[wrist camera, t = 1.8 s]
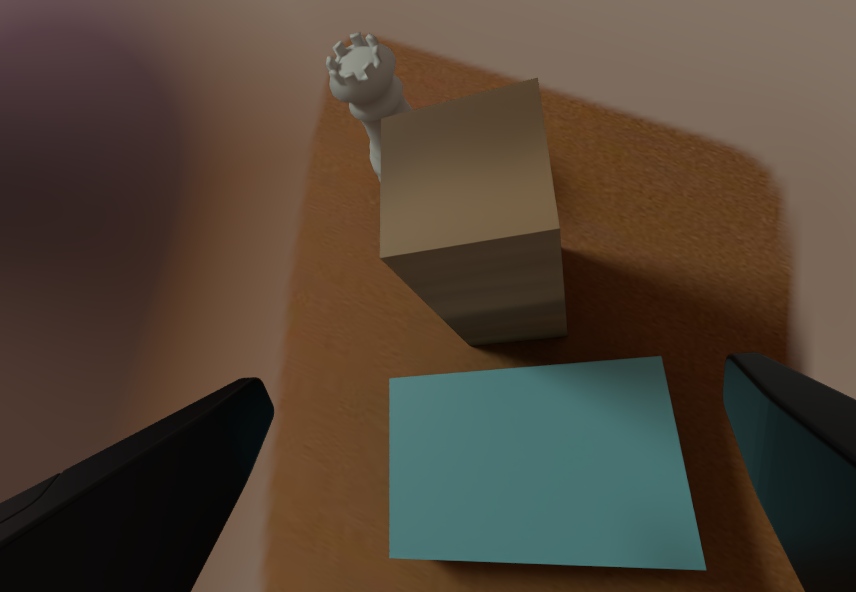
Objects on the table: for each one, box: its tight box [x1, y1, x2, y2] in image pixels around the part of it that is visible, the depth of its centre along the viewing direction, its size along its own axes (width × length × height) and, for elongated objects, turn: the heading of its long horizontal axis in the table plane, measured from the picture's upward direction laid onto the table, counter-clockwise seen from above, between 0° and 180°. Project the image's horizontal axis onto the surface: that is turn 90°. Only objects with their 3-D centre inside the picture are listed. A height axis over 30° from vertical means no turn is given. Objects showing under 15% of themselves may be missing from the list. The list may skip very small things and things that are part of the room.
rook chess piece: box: [326, 32, 413, 182], centre depth 23 cm, size 4×4×8 cm
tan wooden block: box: [380, 78, 568, 346], centre depth 17 cm, size 5×5×11 cm
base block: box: [390, 356, 706, 570], centre depth 18 cm, size 7×11×2 cm, turn 92°
